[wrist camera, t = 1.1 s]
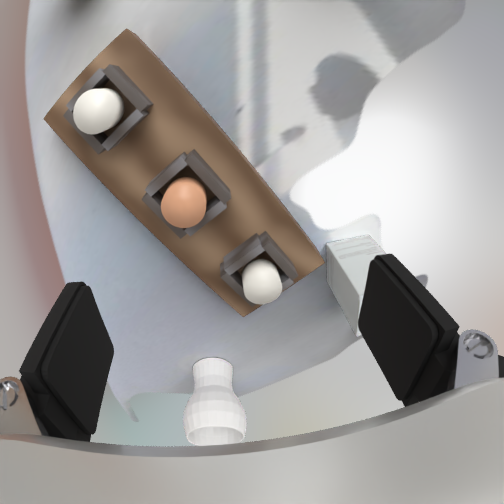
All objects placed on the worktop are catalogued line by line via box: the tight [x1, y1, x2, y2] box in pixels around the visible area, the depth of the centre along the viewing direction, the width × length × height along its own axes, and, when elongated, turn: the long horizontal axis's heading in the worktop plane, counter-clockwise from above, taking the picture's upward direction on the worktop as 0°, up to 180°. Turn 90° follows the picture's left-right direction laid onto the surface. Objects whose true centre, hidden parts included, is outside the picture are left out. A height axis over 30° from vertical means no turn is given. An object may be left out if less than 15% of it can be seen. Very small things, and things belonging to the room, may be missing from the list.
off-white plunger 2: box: [242, 259, 282, 304], centre depth 36 cm, size 4×4×3 cm
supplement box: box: [326, 235, 386, 337], centre depth 40 cm, size 7×7×13 cm
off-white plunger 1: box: [73, 88, 124, 134], centre depth 24 cm, size 4×4×3 cm
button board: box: [44, 29, 325, 317], centre depth 34 cm, size 14×38×7 cm, turn 38°
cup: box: [183, 358, 247, 446], centre depth 49 cm, size 11×11×15 cm
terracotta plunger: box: [161, 177, 207, 228], centre depth 30 cm, size 4×4×3 cm
